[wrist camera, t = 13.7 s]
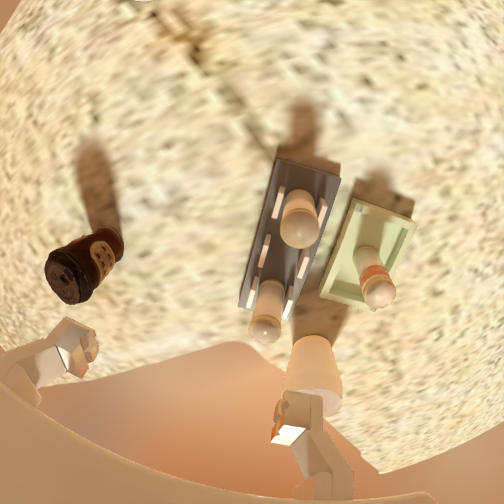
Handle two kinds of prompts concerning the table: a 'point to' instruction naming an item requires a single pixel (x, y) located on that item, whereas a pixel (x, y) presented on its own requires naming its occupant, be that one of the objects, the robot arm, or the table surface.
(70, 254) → the coffee cup
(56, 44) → the table surface
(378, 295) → the fuse marked
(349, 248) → the tray
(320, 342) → the cup
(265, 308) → the fuse
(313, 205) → the fuse
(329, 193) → the fuse block
